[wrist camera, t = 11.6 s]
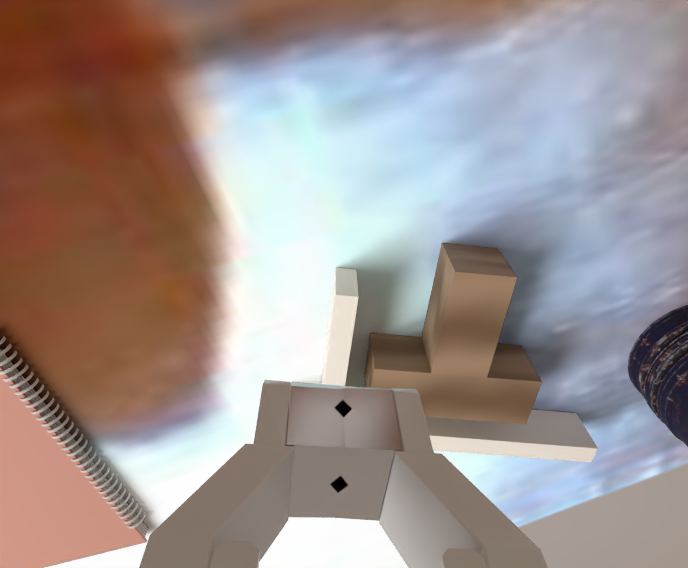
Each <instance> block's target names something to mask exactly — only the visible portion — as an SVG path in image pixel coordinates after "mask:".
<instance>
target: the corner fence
mask: <svg viewBox="0 0 688 568" xmlns="http://www.w3.org/2000/svg"><path fill="white" fill-rule="evenodd" d="M358 298H359V296H358V284H357V272H356V269H346V268H336V269H335V277H334V285H333V293H332V301H331V309H330V317H329V325H328V333H327V341H326V349H325V357H324V365H323V373H322V381H321V384H325V385H337V386H345V383H346V376H347V370H348V363H349V356H350V350H351V343H352V337H353V330H354V324H355V317H356V311H357V304H358ZM290 390H291V389H290ZM289 402H290V399H289ZM425 419H426V423H427V427H428V431H429V436H430V440H431V444H432V448H433V450H437V451H450V452H464V453H477V454H490V455H503V456H516V457H529V458H542V459H555V460H569V461H582V462H592V460H593V458H594V455H595V453H596V451H597V449H598V448H597V446H596V445H595V443H594V441H593V440H592V438H591V436H590V435H589V433H588V431H587V430H586V428H585V426H584V425H583V423H582V422H581V420H580V418H579V417H578V415H577V413H569V412H557V411H545V410H533V409H532V410H531V413H530V416H529V418H528V421H527V424H518V423H505V422H491V421H477V420H463V419H449V418H435V417H425Z"/></svg>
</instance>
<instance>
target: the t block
mask: <svg viewBox="0 0 688 568" xmlns="http://www.w3.org/2000/svg"><path fill="white" fill-rule="evenodd" d="M516 280H517V276H516V275H515V273H514V272H513V270H512V269H511V267H510V266H509V265H508V263H507V262H506V260H505V259H504V257H503V256H502V254H501V253H500V252H499V250H498V249H497V248H489V247H479V246H468V245H457V244H447V243H442V245H441V250H440V254H439V259H438V263H437V268H436V273H435V277H434V282H433V286H432V291H431V296H430V300H429V305H428V310H427V314H426V319H425V323H424V328H423V333H422V337H414V336H402V335H390V334H378V333H371V334H370V340H369V346H368V352H367V359H366V365H365V371H364V379H365V387H371V388H389V389H391V388H401V389H416V390H417V391H418V392H419V395H420V399H421V403H422V407H423V411H424V415H425V417H435V418H449V419H463V420H477V421H491V422H505V423H518V424H527V421H528V418H529V416H530V413H531V410H532V407H533V405H534V402H535V399H536V397H537V394H538V391H539V389H540V386H541V383H542V381H541V379H540V378H539V376H538V374H537V372H536V370H535V369H534V367H533V365H532V363H531V362H530V360H529V358H528V356H527V354H526V353H525V351H524V349H523V347H522V346H521V345H511V344H499V343H498V340H499V336H500V333H501V330H502V326H503V323H504V320H505V317H506V313H507V310H508V307H509V303H510V300H511V297H512V294H513V290H514V287H515V284H516Z"/></svg>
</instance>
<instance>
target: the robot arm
mask: <svg viewBox="0 0 688 568" xmlns="http://www.w3.org/2000/svg"><path fill="white" fill-rule="evenodd" d="M289 399H290V402H289ZM288 517H334V518H349V519H364V520H379V523H380V525H381V526H382V528H383V529H384V531H385V532H386V534H387V535H388V537H389V538H390V540H391V541H392V543H393V544H394V546H395V547H396V549H397V551H398V552H399V554H400V555H401V557H402V558H403V560H404V561H405V563H406V564H407V566H408V567H409V568H548V567H547V565H546V562H545V560H544V557H543V555H542V552H541V550H540V549H539V548H538V547H537V546H536V545H535V544H534V543H533V542H532V541H531V540H530V539H529V538H528V537H527V536H526V535H525V534H524V533H523V532H522V531H521V530H520V529H519V528H518V527H517V526H516V525H515V524H514V523H512V522H511V521H510V520H509V519H508V518H507V517H506V516H505V515H504V514H503V513H502V512H501V511H500V510H499V509H498V508H497V507H496V506H495V505H494V504H493V503H492V502H491V501H490V500H489V499H488V498H487V497H486V496H485V495H484V494H483V493H481V492H480V491H479V490H478V489H477V488H476V487H475V486H474V485H473V484H472V483H471V482H470V481H469V480H468V479H467V478H466V477H465V476H464V475H463V474H462V473H461V472H460V471H459V470H458V469H457V468H456V467H455V466H454V465H453V464H452V463H451V462H449V461H448V460H447V459H446V458H445V457H444V456H443V455H442V454H436V453H434V452H433V448H432V444H431V440H430V436H429V431H428V427H427V423H426V419H425V415H424V411H423V407H422V403H421V399H420V395H419V392H418V391H417V390H416V389H401V388H391V389H389V388H371V387H353V386H337V385H325V384H313V383H301V382H291V390H290V382H284V381H272V380H265V381H264V383H263V387H262V393H261V400H260V406H259V413H258V419H257V426H256V432H255V439H254V444H245V445H244V446H243V447H242V448H241V449H240V450H239V451H238V452H237V453H236V454H235V455H233V456H232V457H231V458H230V459H229V460H228V461H227V462H226V463H225V464H224V465H223V466H222V467H221V468H220V469H219V470H218V471H217V472H216V473H215V474H214V475H212V476H211V477H210V478H209V479H208V480H207V481H206V482H205V483H204V484H203V485H202V486H201V487H200V488H199V489H198V490H197V491H196V492H195V493H194V494H193V495H192V496H190V497H189V498H188V499H187V500H186V501H185V502H184V503H183V504H182V505H181V506H180V507H179V508H178V509H177V510H176V511H175V512H174V513H173V514H172V515H171V516H170V517H168V518H167V519H166V520H165V521H164V522H163V523H162V524H161V525H160V526H159V527H158V528H157V529H156V530H155V531H154V532H153V533H152V534H151V535H150V537H149V540H148V543H147V546H146V549H145V552H144V555H143V558H142V561H141V564H140V567H139V568H259V561H260V560H261V559H262V557H263V556H264V554H265V553H266V551H267V550H268V548H269V547H270V545H271V544H272V543H273V541H274V540H275V538H276V537H277V535H278V534H279V532H280V531H281V530H282V528H283V527H284V525H285V524H286V522H287V521H288Z"/></svg>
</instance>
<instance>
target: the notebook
mask: <svg viewBox="0 0 688 568" xmlns="http://www.w3.org/2000/svg"><path fill="white" fill-rule="evenodd" d="M5 340H6V337H4V336H3V338H2V339H1V340H0V345H1V344H2V343H3V342H4V341H5ZM11 347H12V345H11V344H9V345H8V346H7V347H6V348H5V349H4V350H3V351H2V350H1V349H0V568H44V567H48V566H52V565H56V564H60V563H64V562H68V561H72V560H76V559H80V558H84V557H89V556H93V555H97V554H101V553H105V552H109V551H113V550H117V549H121V548H125V547H129V546H133V545H137V544H141V543H145V542H146V541H147V540H146V538H145V535H146V533H147V530H148V529H147V528H148V527H147V526H146V525H145V523H144V522H143V520H144V519H145V516H146V512H145V511H144V515H143V517H142V519H140V517H139V515H140V514H141V511H142V507H141V506H140V511H139V513H138V514H136V512H135V510H136V509H137V507H138V502H136V505H135V508H134V509H132V508H131V506H132V504H133V502H134V497H132V501H131V503H130V505H129V504H128V503H127V501H128V500H129V498H130V492H128V496H127V498H126V500H125V499H124V498H123V496H124V495H125V493H126V487H124V491H123V493H122V495H121V494H120V493H118V492H119V491H120V489H121V488H122V482H120V486H119V488H118V489H117V490H115V488H114V487H115V485H116V484H117V482H118V477H116V481H115V482H114V484H113V485H111V484H110V481H111V480H112V479H113V477H114V472H112V474H111V477H110V478H109V480H107V479H106V476H107V474H108V473H109V471H110V467H109V466H108V470H107V471H106V473H105V474H104V475H103V474H102V473H101V471H102V470H103V469H104V467H105V465H106V462H105V461H103V465H102V467H101V468H100V469H98V468H97V465H98V464H99V463H100V461H101V456H99V459H98V461H97V462H96V464H94V463H93V462H92V460H93V459H94V458H95V457H96V455H97V451H96V450H95V453H94V455H93V456H92V457H91V459H90V458H89V457H88V454H89V453H90V452H91V450H92V447H93V446H92V445H90V448H89V450H88V451H87V452H86V453H85V452H84V451H83V449H84V448H85V447H86V445H87V443H88V440H87V439H86V441H85V443H84V445H83V446H82V447H80V446H79V444H78V443H79V442H80V441H81V440H82V439H83V436H84V435H83V434H82V433H81V437H80V438H79V439H78V441H77V442H76V441H75V440H74V437H75V436H76V435H77V433H78V431H79V429H78V428H76V431H75V433H74V434H73V435H72V436H71V435H70V433H69V431H70V430H71V429H72V428H73V426H74V422H72V424H71V426H70V427H69V428H68V429H67V430H66V429H65V427H64V425H65V424H66V423H67V422H68V421H69V416H67V418H66V420H65V421H64V422H63V423H62V424H61V422H60V421H59V419H60V418H61V417H62V416H63V415H64V412H65V411H64V410H62V413H61V414H60V415H59V416H58V417H57V418H56V416H55V415H54V413H55V412H56V411H57V410H58V409H59V407H60V405H59V404H57V406H56V408H55V409H54V410H53V411H51V410H50V409H49V407H50V406H51V405H52V404H53V402H54V400H55V399H54V398H53V397H52V400H51V401H50V402H49V403H48V404H47V405H46V404H45V403H44V402H43V401H44V400H45V399H46V398H47V397H48V396H49V394H50V393H49V391H47V393H46V395H45V396H44V397H43V398H42V399H41V398H40V397H39V396H38V394H39V393H41V392H42V390H43V389H44V385H43V384H42V386H41V388H40V389H39V390H38V391H37V392H35V391H34V389H33V387H34V386H36V385H37V383H38V382H39V379H38V378H37V379H36V381H35V382H34V383H33V384H32V385H31V386H30V385H29V383H28V382H27V381H28V380H30V379H31V377H32V376H33V375H34V372H33V371H31V374H30V375H29V376H28V377H27V378H26V379H25V378H24V377H23V376H22V374H23V373H24V372H25V371H26V370H27V369H28V365H26V366H25V367H24V369H23V370H22V371H20V372H19V371H18V370H17V369H16V367H18V366H19V365H20V364H21V363H22V361H23V359H22V358H20V360H19V361H18V362H17V363H16V364H15V365H13V364H12V363H11V360H12V359H13V358H14V357H15V356H16V355H17V351H15V352H14V353H13V354H12V356H10V357H9V358H7V356H6V355H5V353H6V352H7V351H8V350H9V349H10V348H11ZM119 494H120V495H121V496H120V495H119Z"/></svg>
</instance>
